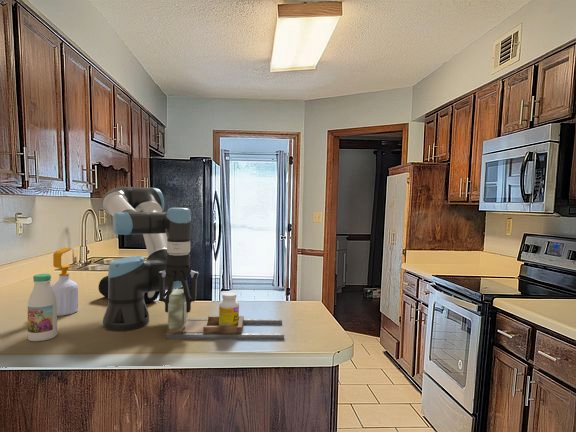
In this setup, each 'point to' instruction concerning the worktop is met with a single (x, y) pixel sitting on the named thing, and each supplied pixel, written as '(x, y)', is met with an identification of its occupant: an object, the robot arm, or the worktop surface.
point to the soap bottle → (64, 287)
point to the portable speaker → (147, 295)
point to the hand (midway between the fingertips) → (177, 321)
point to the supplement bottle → (229, 310)
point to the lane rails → (230, 335)
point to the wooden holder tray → (190, 326)
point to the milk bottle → (42, 310)
